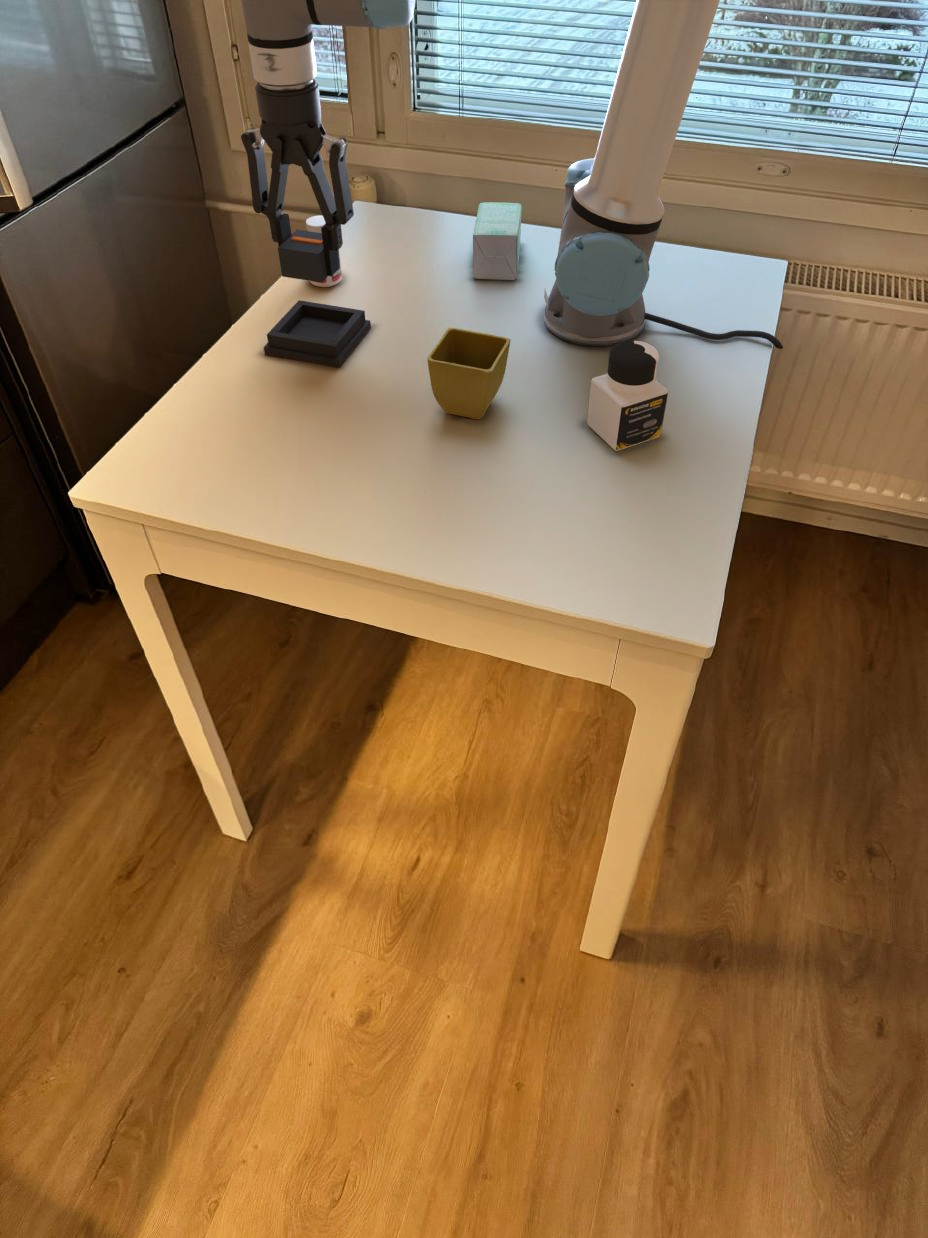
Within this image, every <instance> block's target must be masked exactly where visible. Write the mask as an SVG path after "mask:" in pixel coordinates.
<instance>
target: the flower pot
mask: <svg viewBox="0 0 928 1238" xmlns="http://www.w3.org/2000/svg"><path fill="white" fill-rule="evenodd" d="M510 347H511V338H509V337H506V336H500V335H496V334H490V333H485V332H480V331H474V330H473V331H472V330H468V329H463V328H458V327H457V328H456V327H448V328H446V330H445V332H444V333H443V335H442V336H441V338H440V339H439V340H438V341H437V344H436V345H435V346H434V348H433V349H432V350H431V352H430V353H429V354H428V356H427V358H426V361H427V367H428V374H429V379H430V386H431V390H432V393H433V396H434V399H435V400H436V402H437V404H438V405H439V407H440V408H441V409H442V410H443V411H444V412H445V413H446V414H449V415H454V416H460V417H465V418H468V419H475V420H481V419H483V417H484V415H485V414H486V413H487V410H488V409H489V407H490V405H491V403H492V402H493V400H494V398H495V396H496V395H497V393H498V391H499V390H500V387H501V385H502V383H503V380H504V378H505V374H506V369H507V363H508V357H509V353H510V352H509V351H510Z"/></svg>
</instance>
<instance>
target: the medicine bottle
mask: <svg viewBox="0 0 928 1238" xmlns="http://www.w3.org/2000/svg"><path fill="white" fill-rule="evenodd" d="M659 360H660V354H659V352H658V350H657V349H656V348H655V347H654V346H653V345H651V344H649V343H647V342H645V341H640V340H629V341H623V342H620V343H618V344H615V345H612V347H611V348H610V350H609V353H608V362H607V371H606V373H605V374H602V375H598V376H595V377H593V378H592V379H591V382H590V390H589V391H590V392H589V399H588V407H587V408H588V409H587V410H588V411H587V419H586V425H587V426H588V427H589V428H590V429H591V430H592V431H593V432H594V433H596V435H598V436H599V437H600V438H601V439H602V440H603V441H604V442H605V443H606V444H607V445H608V446H609V447H610V448H612V449H613V450H614V451H615V452H619V451H623V450H625V449H628V448H631V447H634V446H637V445H640V444H642V443H645V442H649V441H652V440H655V439H657V438H660V437H661V435H662V429H663V424H664V418H665V412H666V407H667V401H668V397H669V389H667V388H666V387H664V385H662V384H661V383H660V382H659V381H657V380H656V378H657V372H658V366H659V365H658V364H659Z"/></svg>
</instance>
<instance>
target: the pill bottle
mask: <svg viewBox="0 0 928 1238" xmlns="http://www.w3.org/2000/svg"><path fill="white" fill-rule="evenodd" d="M324 224H325V220H324V217H323V215H313V216H310V217H308V218H307V219H306V220H305V229H306V231H310V232H317V233H322V232H321V227H322V226H323V225H324ZM338 253H339V254H340V249H339V250H338ZM340 256H341V255H339V262H340V264H339V266H340V268H339V269H338V270H337V271H336V272H335V273H334V275H333V276H328V277H327V278H326V279H325V280H324V281H323V282H322V283H321V282H315V281H309V283H310V284H312V285H313V286H315V287H319V288H329V287H333V286H336V285H337V284H339V283H340V282H341V281H342V278H343V276H342V275H343V274H342V266H341V265H342V264H341V258H340Z"/></svg>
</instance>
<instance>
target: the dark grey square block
mask: <svg viewBox="0 0 928 1238" xmlns="http://www.w3.org/2000/svg"><path fill="white" fill-rule="evenodd" d="M291 234H292V235H291V236H290V237H289V238H288V239H287V240H286V241H285V242H283V243H282V244H281V245H280V246H277V253H278V259H279V267H280V271H281V272H280V273H281V277H283V278H288V279H294V280H295V279H296V280H302V281H309V282H310V281H315V282H321V283H322V282H323V281H324V280H325V279H326V278H327V277H328V276H327V271H326V263H325V254H324V248H323V240H322V233H317V232H310V231H307V230H301V229H296V230H295V231H294V232H292V233H291ZM339 256H340V252H339V253H338V257H339ZM339 264H341V261H340V262H339Z"/></svg>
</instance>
